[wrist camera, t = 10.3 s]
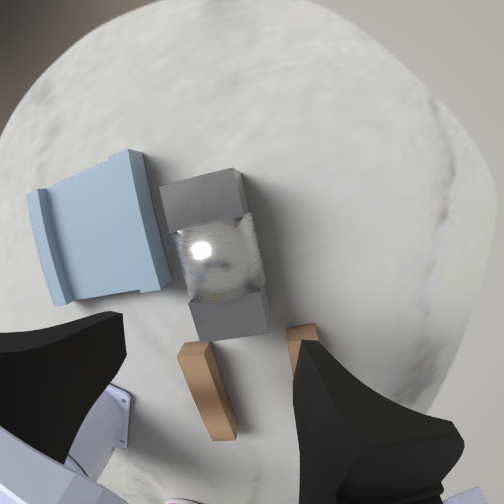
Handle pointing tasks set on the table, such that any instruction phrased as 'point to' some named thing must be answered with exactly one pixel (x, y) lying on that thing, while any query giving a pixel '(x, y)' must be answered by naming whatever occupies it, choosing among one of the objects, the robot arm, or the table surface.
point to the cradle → (99, 232)
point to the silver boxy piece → (218, 254)
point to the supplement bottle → (179, 501)
